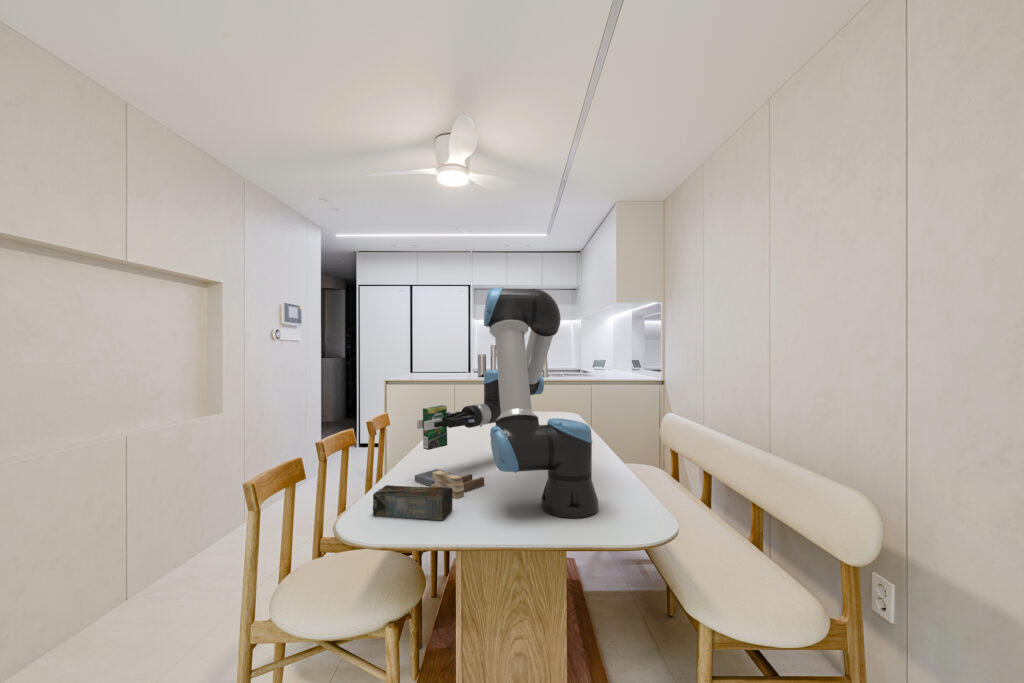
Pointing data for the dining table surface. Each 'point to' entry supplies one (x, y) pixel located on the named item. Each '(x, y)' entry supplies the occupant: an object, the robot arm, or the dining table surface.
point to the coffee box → (434, 436)
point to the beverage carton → (413, 502)
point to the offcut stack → (449, 482)
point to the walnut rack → (472, 482)
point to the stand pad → (427, 477)
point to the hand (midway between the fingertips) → (421, 425)
